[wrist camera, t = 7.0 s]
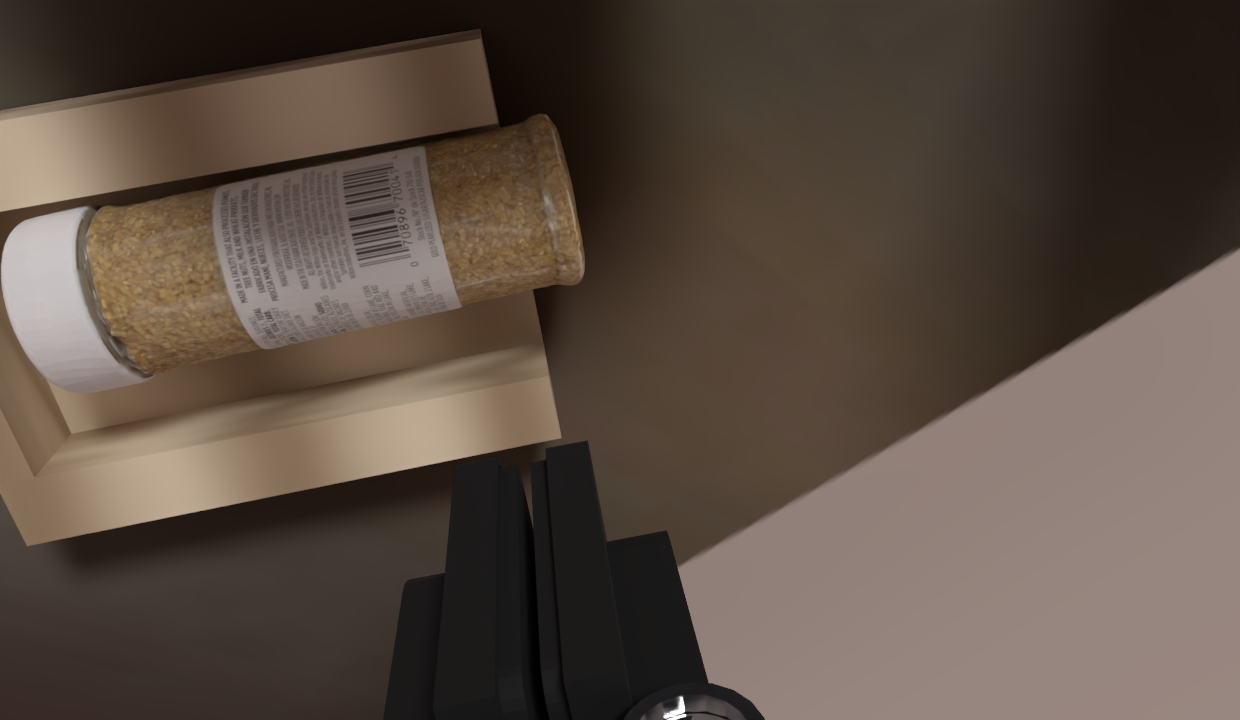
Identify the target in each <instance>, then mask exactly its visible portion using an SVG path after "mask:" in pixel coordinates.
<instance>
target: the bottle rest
mask: <svg viewBox="0 0 1240 720" xmlns="http://www.w3.org/2000/svg"><path fill="white" fill-rule="evenodd" d="M496 128H500V125H499V120H498V115H497V110H496V105H495V100H494V95H493V90H492V85H491V80H490V75H489V70H488V65H487V60H486V55H485V50H484V46H483V41H482V36H481V31H480V29H474V30H469V31H463V32H457V33H451V34H445V35H439V36H433V37H428V38H422V39H416V40H410V41H404V42H398V43H392V44H387V45H381V46H375V47H369V48H363V49H357V50H351V51H345V52H340V53H334V54H328V55H322V56H316V57H310V58H304V59H299V60H293V61H287V62H281V63H275V64H269V65H263V66H258V67H252V68H246V69H240V70H234V71H228V72H222V73H217V74H211V75H205V76H199V77H193V78H187V79H181V80H175V81H170V82H164V83H158V84H152V85H146V86H140V87H134V88H129V89H123V90H117V91H111V92H105V93H99V94H93V95H88V96H82V97H76V98H70V99H64V100H58V101H52V102H47V103H41V104H35V105H29V106H23V107H17V108H11V109H5V110H0V494H1V496H2V498H3V500H4V502H5V504H6V506H7V507H8V509H9V511H10V513H11V515H12V517H13V519H14V521H15V523H16V525H17V527H18V529H19V531H20V533H21V535H22V537H23V539H24V541H25V543H26V545H27V546H30V545H35V544H40V543H45V542H49V541H54V540H59V539H64V538H69V537H74V536H79V535H84V534H89V533H94V532H99V531H104V530H109V529H114V528H119V527H124V526H129V525H134V524H139V523H143V522H148V521H153V520H158V519H163V518H168V517H173V516H178V515H183V514H188V513H193V512H198V511H203V510H208V509H213V508H218V507H223V506H228V505H233V504H237V503H242V502H247V501H252V500H257V499H262V498H267V497H272V496H277V495H282V494H287V493H292V492H297V491H302V490H307V489H312V488H317V487H322V486H326V485H331V484H336V483H341V482H346V481H351V480H356V479H361V478H366V477H371V476H376V475H381V474H386V473H391V472H396V471H401V470H406V469H411V468H416V467H420V466H425V465H430V464H435V463H440V462H445V461H450V460H455V459H460V458H465V457H470V456H475V455H480V454H485V453H490V452H495V451H500V450H505V449H509V448H514V447H519V446H524V445H529V444H534V443H539V442H544V441H549V440H554V439H559V438H561V432H560V427H559V421H558V415H557V410H556V404H555V398H554V393H553V387H552V382H551V377H550V372H549V367H548V363H547V358H546V353H545V348H544V343H543V338H542V333H541V328H540V323H539V318H538V313H537V308H536V303H535V298H534V293H533V289H531V290H528V291H525V292H521V293H516V294H512V295H507V296H503V297H498V298H494V299H487V300H483V301H478V302H475V303H470V304H466V305H464V306H463V307H461V308H458V309H453V310H448V311H444V312H439V313H434V314H430V315H425V316H420V317H416V318H411V319H406V320H402V321H397V322H392V323H388V324H383V325H378V326H374V327H369V328H364V329H360V330H355V331H350V332H346V333H341V334H337V335H332V336H327V337H323V338H318V339H313V340H309V341H304V342H300V343H295V344H291V345H287V346H282V347H278V348H273V349H258V350H254V351H249V352H244V353H241V354H237V353H236V354H232V355H229V356H226V357H223V358H218V359H213V360H207V361H202V362H199V363H196V364H191V365H187V366H180V367H176V368H173V369H171V370H170V371H168V372H166V373H158V374H156V375H155V376H154V377H153V378H152V379H150V380H148V381H146V382H142V383H137V384H133V385H128V386H123V387H119V388H114V389H109V390H104V391H99V392H93V393H86V394H77V393H71V392H68V391H65V390H63V389H61V388H59V387H57V386H56V385H54V384H53V383H51V382H50V381H49V380H48V379H46V378H45V377H44V376H43V375H42V374H41V373H40V372H39V371H38V369H37V368H36V367H35V366H34V365H33V363H32V362H31V361H30V359H29V358H28V356H27V355H26V353H25V352H24V350H23V348H22V346H21V344H20V342H19V341H18V339H17V336H16V334H15V332H14V330H13V327H12V325H11V322H10V320H9V316H8V313H7V310H6V306H5V302H4V297H3V291H2V285H1V261H2V253H3V249H4V245H5V243H6V240H7V238H8V236H9V235H10V233H11V232H12V231H13V229H14V228H15V227H16V226H17V225H18V224H20V223H21V222H23V221H25V220H27V219H30V218H34V217H38V216H42V215H46V214H50V213H55V212H59V211H63V210H67V209H72V208H77V207H82V206H86V205H100V206H103V207H104V206H106V205H108V204H113V205H115V206H128V205H131V204H134V203H136V204H138V203H143V202H146V201H150V200H153V199H161V198H165V197H167V196H170V195H175V194H179V193H187V192H190V191H193V190H201V189H205V188H210V187H213V186H217V185H219V184H225V183H232V182H235V181H242V180H244V179H246V178H253V177H257V176H262V175H268V174H273V173H279V172H282V171H289V170H292V169H296V168H301V167H303V166H305V165H308V164H312V163H317V162H322V161H327V160H332V159H336V158H341V157H346V156H351V155H355V154H360V153H364V152H370V151H375V150H380V149H385V148H390V147H395V146H400V145H405V144H410V143H416V142H420V143H426V142H431V141H437V140H441V139H445V138H454V137H457V136H461V135H465V134H469V133H473V132H480V131H485V130H491V129H496Z"/></svg>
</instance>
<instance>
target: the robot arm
mask: <svg viewBox="0 0 1240 720" xmlns="http://www.w3.org/2000/svg"><path fill="white" fill-rule="evenodd" d="M531 484H532V504H533V524H534V530H533V526H532V522H531V517H530V513H529V509H528V504H527V500H526V496H525V491H524V487H523V483H522V478H521V474H520V470H519V467H518V465H516V466H511V467H506V468H503V466H502V463H501V460H500V458H499V457H497V458H492V459H486V460H481V461H475V462H470V463H465V464H459V465H456V466H455V470H454V480H453V491H452V502H451V513H450V524H449V535H448V546H447V557H446V568H445V573H442V574H437V575H431V576H426V577H421V578H416V579H410V580H408V581H407V582H406V583H405V585H404V589H403V593H402V600H401V607H400V613H399V620H398V626H397V633H396V639H395V646H394V653H393V659H392V666H391V672H390V679H389V685H388V692H387V699H386V705H385V712H384V718H383V720H765V719H764V717H763V716H762V715H761V713H760V712H759V711H758V710H757V709H756V707H755V706H754V705H753V703H752V702H751V701H749V700H748V699H746V698H745V697H743V696H742V695H740V694H739V693H737V692H736V691H734V690H731V689H728V688H725V687H721V686H719V685H715V684H712V683H711V684H710V683H708V679H707V675H706V672H705V668H704V664H703V661H702V657H701V653H700V650H699V646H698V642H697V639H696V635H695V631H694V628H693V624H692V620H691V616H690V613H689V609H688V605H687V602H686V598H685V594H684V591H683V587H682V583H681V580H680V576H679V572H678V568H677V565H676V561H675V557H674V554H673V550H672V546H671V543H670V539H669V536H668V533H667V531H662V532H656V533H651V534H646V535H641V536H635V537H630V538H625V539H620V540H614V541H609V542H607V539H606V534H605V529H604V524H603V518H602V513H601V508H600V502H599V497H598V492H597V487H596V481H595V476H594V471H593V465H592V460H591V455H590V450H589V445H588V441H583V442H577V443H572V444H567V445H561V446H556V447H550V448H546V460H543V461H538V462H532V463H531Z"/></svg>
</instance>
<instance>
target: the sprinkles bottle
mask: <svg viewBox="0 0 1240 720" xmlns="http://www.w3.org/2000/svg"><path fill="white" fill-rule="evenodd" d="M584 272H585V254H584V248H583V242H582V235H581V230H580V225H579V221H578V217H577V211H576V203H575V197H574V192H573V187H572V182H571V178H570V174H569V170H568V167H567V163H566V159H565V155H564V151H563V147H562V143H561V140H560V136H559V133H558V131H557V128H556V126H555V125H554V124H553V123H552V121H551V120H550V118H549V117H548V116H547V115H546V114H537V115H534V116H531V117H529V118H528V119H527V120H525V121H523V122H521V123H518V124H514V125H509V126H505V127H502V128H496V129H491V130H485V131H480V132H473V133H469V134H465V135H461V136H457V137H454V138H445V139H441V140H437V141H431V142H426V143H420V142H416V143H410V144H405V145H400V146H395V147H390V148H385V149H380V150H375V151H370V152H364V153H360V154H355V155H351V156H346V157H341V158H336V159H332V160H327V161H322V162H317V163H312V164H308V165H305V166H303V167H301V168H296V169H292V170H289V171H282V172H279V173H273V174H268V175H262V176H257V177H253V178H246V179H244V180H242V181H235V182H232V183H225V184H219V185H217V186H213V187H210V188H205V189H201V190H193V191H190V192H187V193H179V194H175V195H170V196H167V197H165V198H161V199H153V200H150V201H146V202H143V203H138V204H136V203H134V204H131V205H128V206H115V205H113V204H108V205H106V206H104V207H103V206H100V205H86V206H82V207H77V208H72V209H67V210H63V211H59V212H55V213H50V214H46V215H42V216H38V217H34V218H30V219H27V220H25V221H23V222H21V223H20V224H18V225H17V226H16V227H15V228H14V229H13V231H12V232H11V233H10V235H9V236H8V238H7V240H6V243H5V245H4V249H3V253H2V261H1V285H2V291H3V297H4V302H5V306H6V310H7V313H8V316H9V320H10V322H11V325H12V327H13V330H14V332H15V334H16V336H17V339H18V341H19V342H20V344H21V346H22V348H23V350H24V352H25V353H26V355H27V356H28V358H29V359H30V361H31V362H32V363H33V365H34V366H35V367H36V368H37V369H38V371H39V372H40V373H41V374H42V375H43V376H44V377H45V378H46V379H48V380H49V381H50V382H51V383H53V384H54V385H56V386H57V387H59V388H61V389H63V390H65V391H68V392H71V393H77V394H86V393H93V392H99V391H104V390H109V389H114V388H119V387H123V386H128V385H133V384H137V383H142V382H146V381H148V380H150V379H152V378H153V377H154V376H155V375H156V374H158V373H166V372H168V371H170V370H171V369H173V368H176V367H180V366H187V365H191V364H196V363H199V362H202V361H207V360H213V359H218V358H223V357H226V356H229V355H232V354H236V353H237V354H241V353H244V352H249V351H254V350H258V349H273V348H278V347H282V346H287V345H291V344H295V343H300V342H304V341H309V340H313V339H318V338H323V337H327V336H332V335H337V334H341V333H346V332H350V331H355V330H360V329H364V328H369V327H374V326H378V325H383V324H388V323H392V322H397V321H402V320H406V319H411V318H416V317H420V316H425V315H430V314H434V313H439V312H444V311H448V310H453V309H458V308H461V307H463V306H464V305H466V304H470V303H475V302H478V301H483V300H487V299H494V298H498V297H503V296H507V295H512V294H516V293H521V292H525V291H528V290H531V289H536V288H542V287H547V286H551V285H559V284H561V285H570V286H572V285H577V284H578V283H579V282H580V281H581V279H582V278H583V275H584Z"/></svg>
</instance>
